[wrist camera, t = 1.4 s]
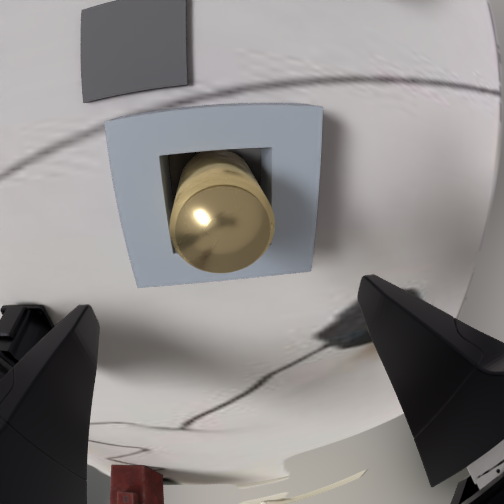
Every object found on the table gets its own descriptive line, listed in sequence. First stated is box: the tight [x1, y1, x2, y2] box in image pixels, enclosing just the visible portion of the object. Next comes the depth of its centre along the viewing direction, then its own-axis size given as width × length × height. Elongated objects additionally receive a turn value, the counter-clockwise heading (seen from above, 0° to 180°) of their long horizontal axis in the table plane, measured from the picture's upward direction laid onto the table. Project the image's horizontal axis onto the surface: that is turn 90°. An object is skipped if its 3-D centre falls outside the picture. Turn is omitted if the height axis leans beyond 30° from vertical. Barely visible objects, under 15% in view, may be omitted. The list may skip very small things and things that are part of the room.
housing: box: [104, 103, 323, 288], centre depth 18 cm, size 11×12×4 cm
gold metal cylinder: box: [169, 150, 275, 273], centre depth 17 cm, size 5×5×7 cm
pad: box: [81, 0, 188, 103], centre depth 13 cm, size 7×7×1 cm
